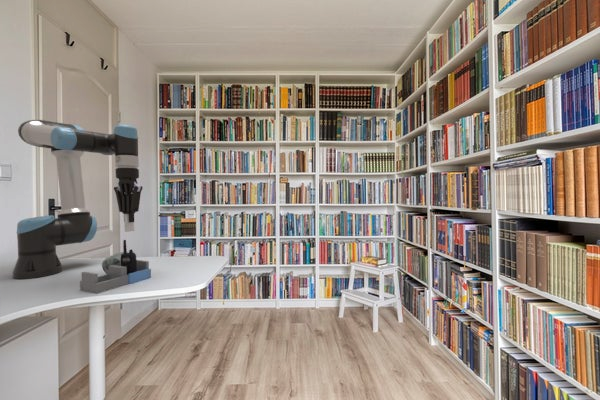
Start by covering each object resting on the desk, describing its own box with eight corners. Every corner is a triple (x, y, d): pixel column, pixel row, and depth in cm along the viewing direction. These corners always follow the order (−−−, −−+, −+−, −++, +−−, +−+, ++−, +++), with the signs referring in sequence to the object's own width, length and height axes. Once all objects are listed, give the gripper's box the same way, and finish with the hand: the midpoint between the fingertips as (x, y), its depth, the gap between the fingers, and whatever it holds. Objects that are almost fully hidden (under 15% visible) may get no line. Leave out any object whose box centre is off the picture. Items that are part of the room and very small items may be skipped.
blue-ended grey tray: (80, 289, 100) (79, 272, 100) (135, 274, 119) (134, 259, 118) (98, 293, 96) (97, 275, 96) (152, 277, 115) (151, 261, 114)
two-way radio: (119, 281, 110) (117, 240, 110) (126, 277, 115) (125, 238, 114) (134, 280, 110) (132, 240, 110) (140, 277, 114) (139, 238, 114)
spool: (120, 269, 113) (113, 246, 116) (98, 281, 114) (92, 257, 117) (144, 269, 127) (137, 248, 129) (125, 279, 127) (118, 258, 130)
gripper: (105, 168, 110) (108, 231, 111) (129, 166, 105) (131, 233, 106) (125, 169, 117) (127, 229, 118) (148, 167, 112) (150, 230, 112)
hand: (129, 231), depth 112 cm, fingers closed
